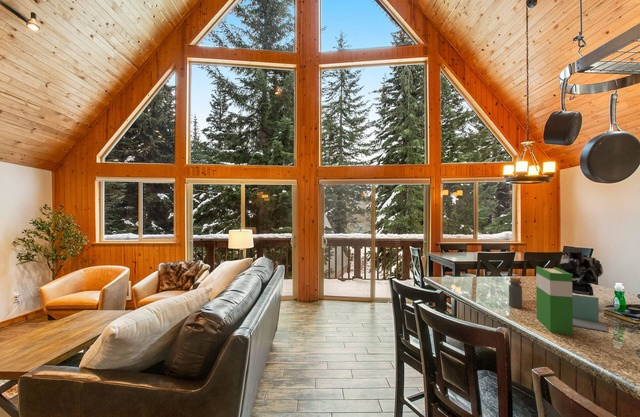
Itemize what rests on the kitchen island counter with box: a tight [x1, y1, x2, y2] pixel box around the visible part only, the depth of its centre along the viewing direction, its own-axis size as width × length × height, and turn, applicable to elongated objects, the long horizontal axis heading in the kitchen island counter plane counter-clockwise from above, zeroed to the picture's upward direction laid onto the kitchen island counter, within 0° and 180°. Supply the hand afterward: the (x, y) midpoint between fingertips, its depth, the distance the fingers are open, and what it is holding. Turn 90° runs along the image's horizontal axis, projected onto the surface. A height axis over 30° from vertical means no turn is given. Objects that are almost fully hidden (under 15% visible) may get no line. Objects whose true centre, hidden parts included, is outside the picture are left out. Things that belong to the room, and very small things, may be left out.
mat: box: [573, 318, 609, 333], centre depth 135 cm, size 12×15×1 cm
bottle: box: [508, 276, 523, 309], centre depth 161 cm, size 6×6×15 cm
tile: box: [572, 293, 600, 322], centre depth 141 cm, size 3×11×11 cm, turn 51°
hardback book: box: [535, 265, 574, 336], centre depth 132 cm, size 18×7×24 cm, turn 160°
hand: (566, 284), depth 148 cm, fingers open, 9 cm apart
